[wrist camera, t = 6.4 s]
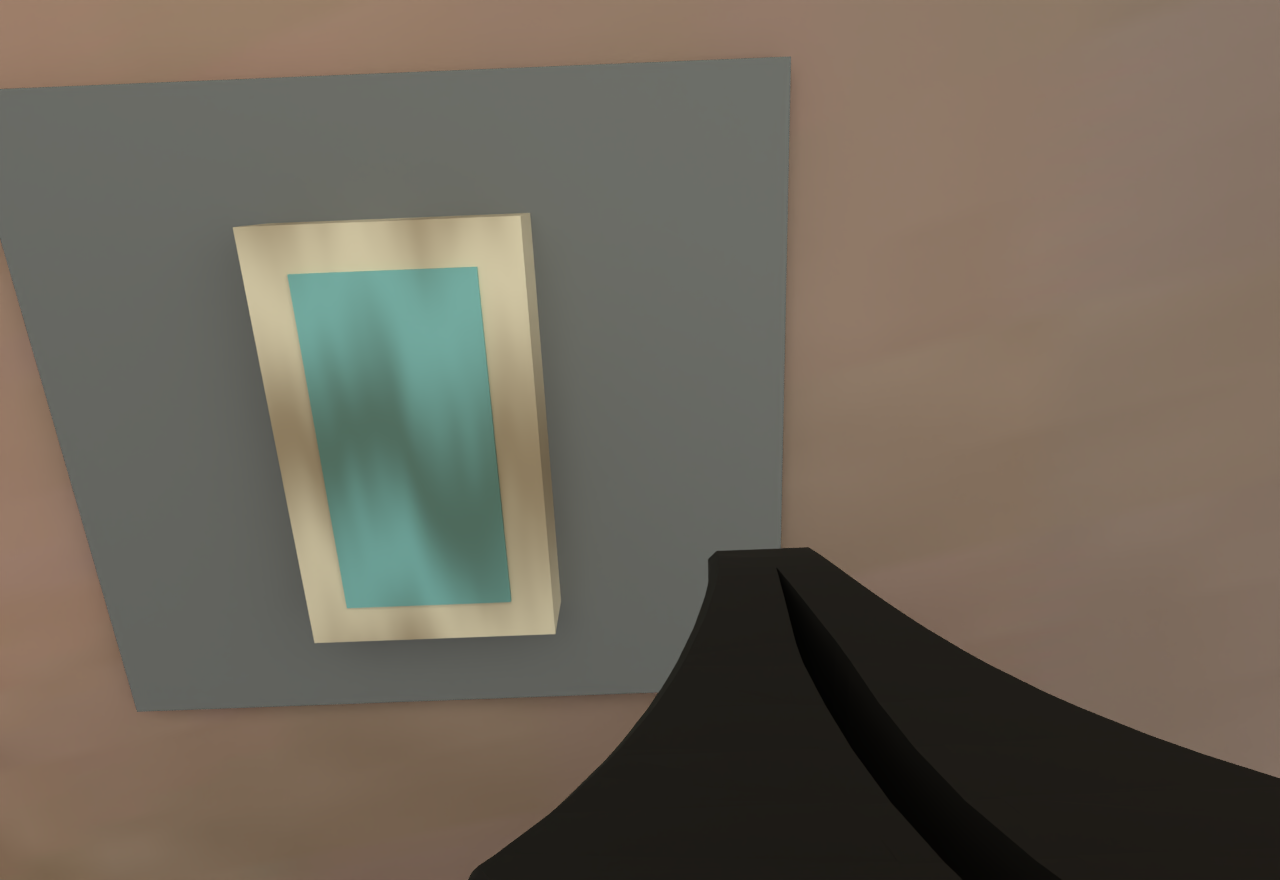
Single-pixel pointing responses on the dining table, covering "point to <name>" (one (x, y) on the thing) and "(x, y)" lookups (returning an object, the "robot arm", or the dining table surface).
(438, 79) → the mat
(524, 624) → the slab
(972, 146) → the dining table surface
